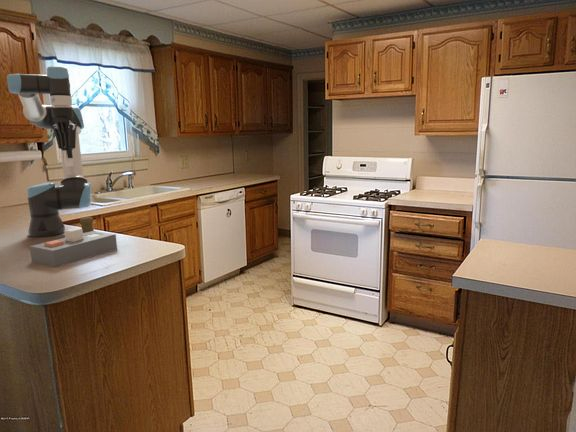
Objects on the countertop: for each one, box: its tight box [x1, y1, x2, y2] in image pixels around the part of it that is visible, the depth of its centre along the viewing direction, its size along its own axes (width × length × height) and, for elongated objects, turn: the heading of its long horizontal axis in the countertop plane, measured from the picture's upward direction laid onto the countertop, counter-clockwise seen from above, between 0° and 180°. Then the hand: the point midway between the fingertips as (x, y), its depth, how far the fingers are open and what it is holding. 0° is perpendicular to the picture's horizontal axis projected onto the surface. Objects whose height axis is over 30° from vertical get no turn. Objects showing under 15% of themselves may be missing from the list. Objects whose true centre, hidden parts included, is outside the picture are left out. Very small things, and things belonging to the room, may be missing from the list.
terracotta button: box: [44, 239, 64, 247], centre depth 156 cm, size 4×4×4 cm
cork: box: [79, 216, 94, 233], centre depth 182 cm, size 6×6×11 cm
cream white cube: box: [64, 227, 83, 242], centre depth 162 cm, size 4×4×4 cm
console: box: [29, 230, 118, 268], centre depth 163 cm, size 14×26×6 cm, turn 151°
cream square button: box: [86, 234, 100, 237], centre depth 170 cm, size 4×4×4 cm
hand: (69, 166), depth 177 cm, fingers closed
